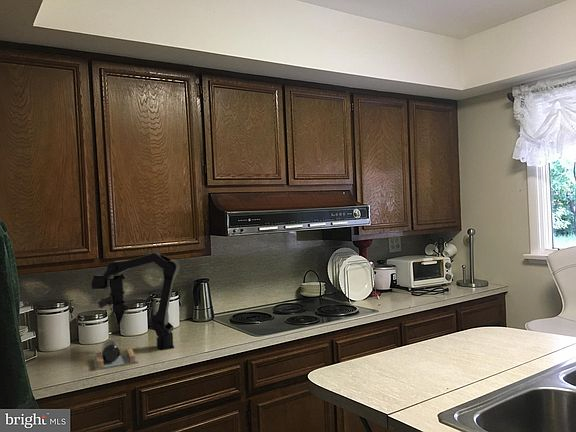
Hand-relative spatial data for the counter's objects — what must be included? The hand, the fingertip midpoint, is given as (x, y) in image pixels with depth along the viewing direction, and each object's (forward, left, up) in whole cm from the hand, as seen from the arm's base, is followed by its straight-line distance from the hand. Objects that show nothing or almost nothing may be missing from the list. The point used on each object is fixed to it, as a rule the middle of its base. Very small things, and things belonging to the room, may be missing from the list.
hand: (118, 323), depth 211 cm
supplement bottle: (+5, +11, -7) cm, 14 cm away
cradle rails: (+3, +19, -11) cm, 23 cm away
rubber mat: (+3, +19, -11) cm, 23 cm away
